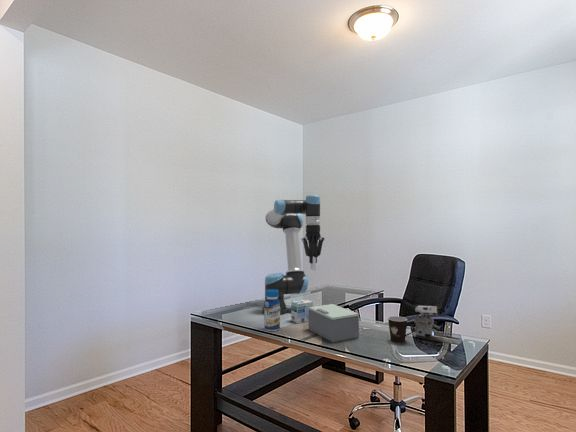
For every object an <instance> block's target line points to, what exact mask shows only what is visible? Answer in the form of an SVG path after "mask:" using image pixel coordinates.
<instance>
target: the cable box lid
mask: <svg viewBox="0 0 576 432" xmlns="http://www.w3.org/2000/svg"><path fill="white" fill-rule="evenodd" d="M309 310H311V311H314V312H316V313H318V314H320V315H323V316H325V317H327V318H329V319H332V320H335V319H342V318H348V317H354V316H360V313H358V312H355V311H352V310H350V309H347V308H344V307H342V306H339V305H336V304H334V303H329V304H323V305H315V306H313V307H309Z"/></svg>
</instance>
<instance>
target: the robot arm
mask: <svg viewBox="0 0 576 432" xmlns="http://www.w3.org/2000/svg"><path fill="white" fill-rule="evenodd" d="M302 214H303V215H305V224H306V225H305V236H304V237H302V238H301V241H302V243H303V248H304V252H305V256H306V257H309V259H308V260H309V262H308V263H309V264H310V270H313V271H315V270H316V269H317V268H316V267H317V265H316V264H317V263H318V257H319V256H321V253H322V247H323V243H324V240H325V237H323V236H322V235H321V197H320V195H317V194H310V195H309V194H308V195H306V196H305V199H304V200H303V199H300V200H299V199H295V200H294V199H276V200H274V203H273V209H270V210H269V211H268V212H267V213H266V214H265V222H266V224H267V225H268V226H269V227H271V228H273V229H282V232H283V233H284V234H285V246H286V247H285V249H286V258H287V271H286V272H285V274H284V273H283V272H275V273H270V274H268V275H266V276H265V277H264V301H263V305H262V309H261V310H262V312H261V313H262V314H264V307H265V304H264V303H265V300H266V298H267V297H266V290H268V289H277V290H278V291H279V296H278V297H277V298H278V299H279V301H280V305H279V306H280V316H281V315H284V314H286V313H287V312H288V309H287V305H286V302H285V295H297V294H298V295H300V294H305V293H306V292H307V289H308V286H309V278H308V274H306V273H305V270H303V268H302V260H301V258H302V257H301V248H300V247H301V246H300V236H299V235H300V234H299V232H301V229H302V228H303V225H304V220H303V216H302Z"/></svg>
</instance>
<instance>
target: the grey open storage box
mask: <svg viewBox="0 0 576 432" xmlns="http://www.w3.org/2000/svg"><path fill="white" fill-rule="evenodd" d="M359 316H360V315H359ZM359 316H354V317H348V318H342V319H335V320H332V319H329V318H327V317H325V316H323V315H320V314H318V313H316V312H314V311H311V310H309V321H308V330H310V331H311V332H313V333H315V334H317V335H318V336H320V337H322V338H324V339H326V340H327V341H330V342H331V343H336V342H337V343H338V342H342V341H347V340H352V339H357V338H359V337H360V336H359V335H360V331H359V330H360V329H359V326H360V323H359V321H360V320H359V319H360V317H359Z"/></svg>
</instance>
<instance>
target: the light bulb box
mask: <svg viewBox="0 0 576 432" xmlns="http://www.w3.org/2000/svg"><path fill="white" fill-rule="evenodd" d="M290 307H291V312H290V313H291V319H290V320H291V322H294V323H295V324H301V323H309V307H314V306H313V301H311V300H309V299H302V300H301V299H299V300H295V301H294V300H293V301H291V306H290Z"/></svg>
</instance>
